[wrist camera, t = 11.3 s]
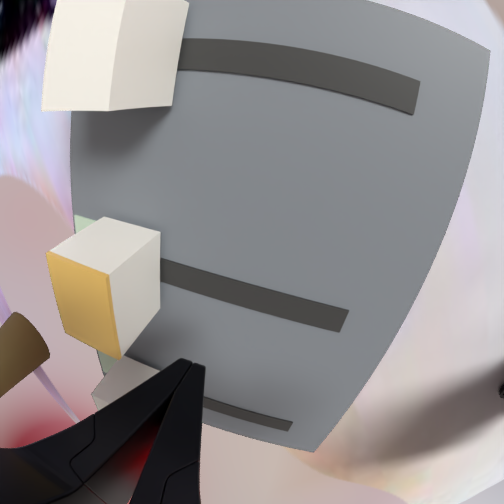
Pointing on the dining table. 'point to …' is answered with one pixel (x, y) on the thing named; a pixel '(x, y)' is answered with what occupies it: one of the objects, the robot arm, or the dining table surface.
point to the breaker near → (113, 54)
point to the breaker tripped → (107, 283)
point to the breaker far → (121, 380)
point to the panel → (288, 198)
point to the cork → (19, 351)
